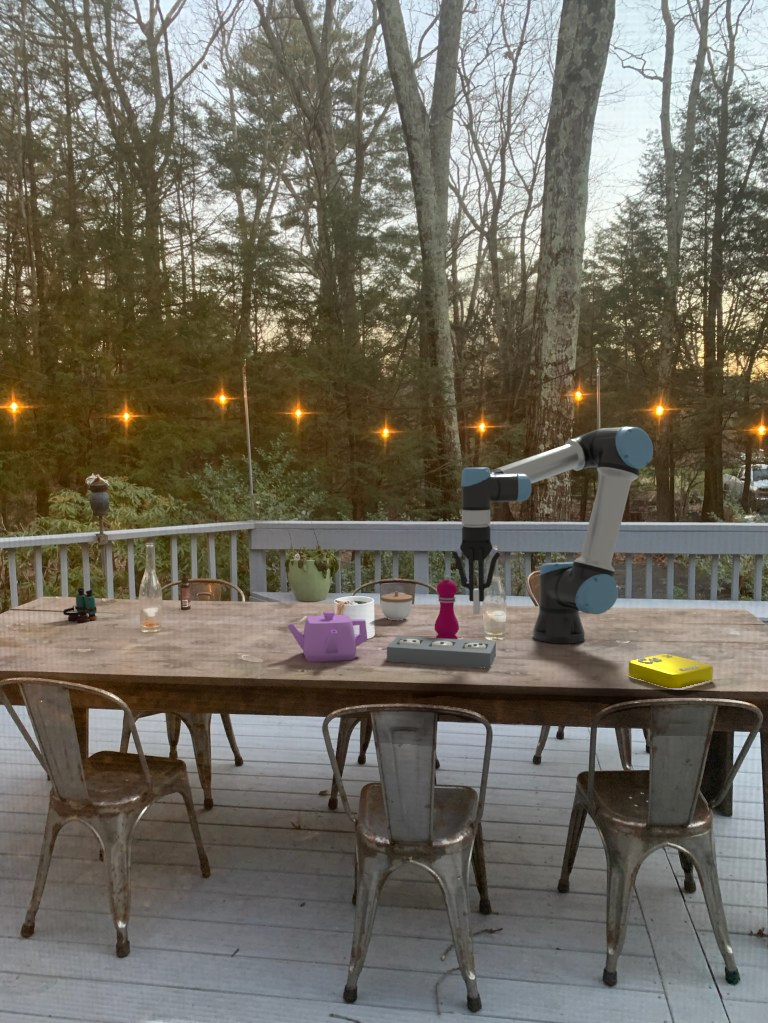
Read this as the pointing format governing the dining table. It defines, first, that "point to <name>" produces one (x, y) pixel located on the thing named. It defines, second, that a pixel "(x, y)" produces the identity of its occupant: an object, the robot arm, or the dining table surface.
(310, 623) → the teakettle
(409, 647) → the console
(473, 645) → the button three dots
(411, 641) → the button two dots
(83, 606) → the binoculars
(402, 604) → the lidded jar
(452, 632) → the pepper mill
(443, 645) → the button one dot
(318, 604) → the dining table surface
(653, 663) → the element tile
